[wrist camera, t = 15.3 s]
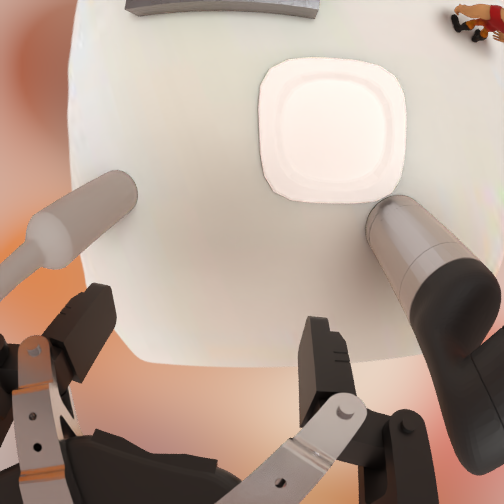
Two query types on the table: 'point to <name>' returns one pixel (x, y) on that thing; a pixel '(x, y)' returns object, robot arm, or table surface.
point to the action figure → (481, 20)
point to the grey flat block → (225, 6)
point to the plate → (331, 130)
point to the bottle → (69, 227)
